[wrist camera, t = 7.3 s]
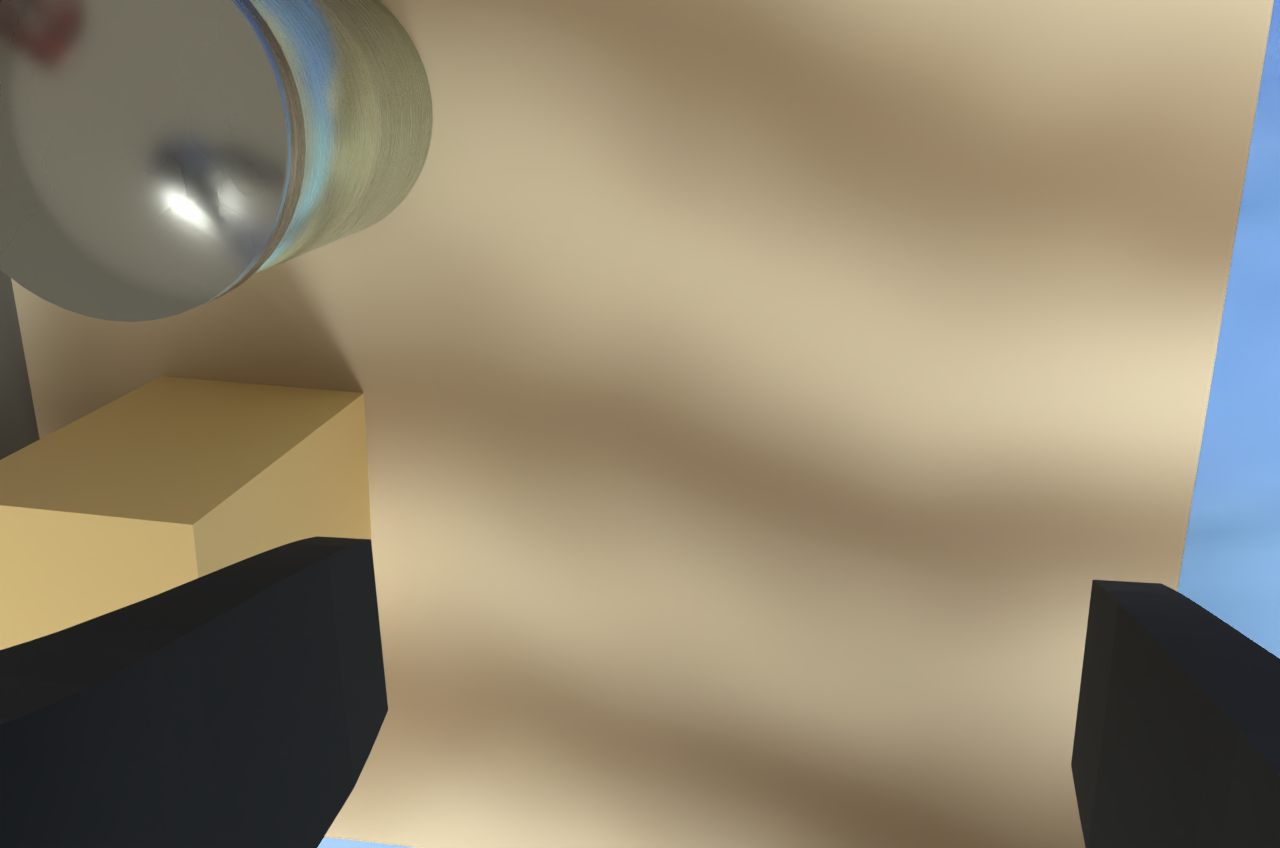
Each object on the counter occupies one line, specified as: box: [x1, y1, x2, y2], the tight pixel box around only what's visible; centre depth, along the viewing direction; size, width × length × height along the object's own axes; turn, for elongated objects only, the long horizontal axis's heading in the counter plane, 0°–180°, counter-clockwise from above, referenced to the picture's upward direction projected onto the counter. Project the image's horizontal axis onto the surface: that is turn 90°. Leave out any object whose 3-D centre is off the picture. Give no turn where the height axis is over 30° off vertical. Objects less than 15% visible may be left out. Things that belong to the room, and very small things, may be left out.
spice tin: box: [0, 0, 433, 322], centre depth 17 cm, size 5×5×6 cm
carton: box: [0, 376, 372, 650], centre depth 20 cm, size 6×4×6 cm, turn 179°
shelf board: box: [0, 0, 1274, 848], centre depth 21 cm, size 18×22×4 cm
